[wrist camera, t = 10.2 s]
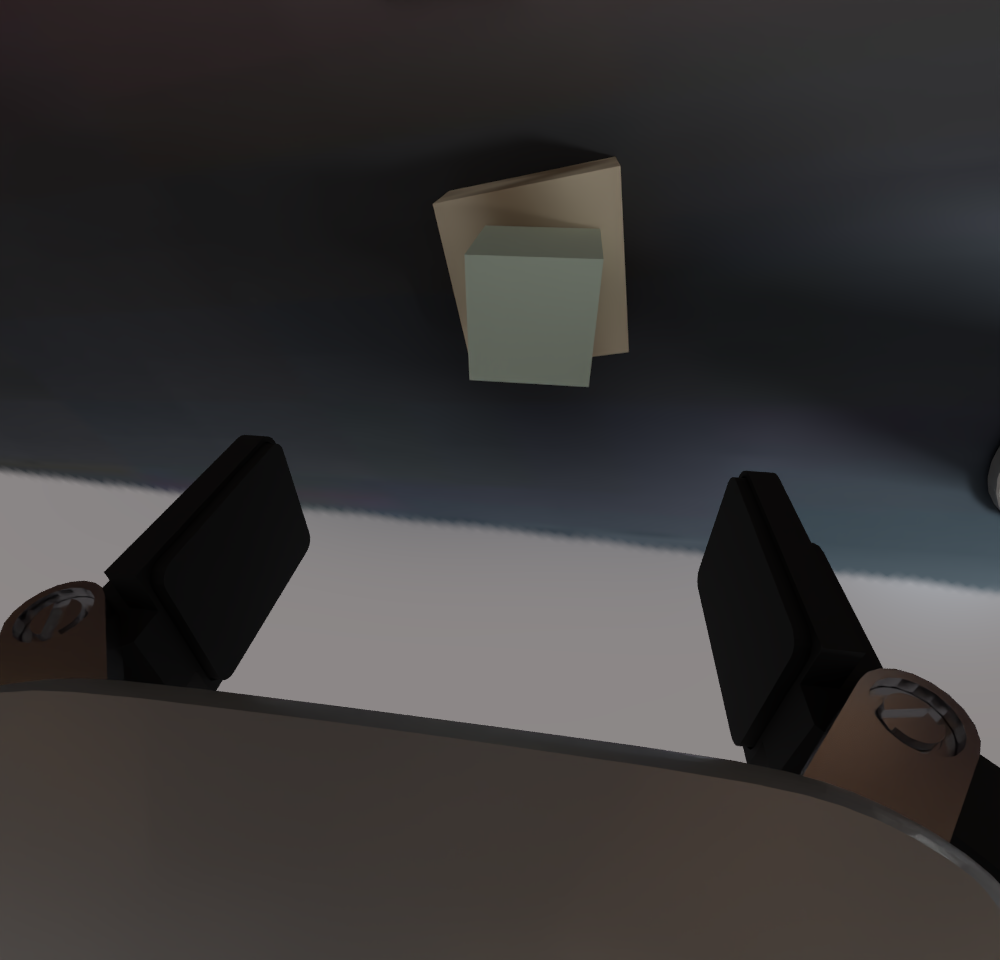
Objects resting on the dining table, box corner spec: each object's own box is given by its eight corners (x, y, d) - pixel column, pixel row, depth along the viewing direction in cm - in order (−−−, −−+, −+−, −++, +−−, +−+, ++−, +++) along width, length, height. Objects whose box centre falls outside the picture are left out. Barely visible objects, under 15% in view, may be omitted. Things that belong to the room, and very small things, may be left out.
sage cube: (600, 228, 22) (603, 259, 18) (587, 340, 25) (588, 387, 21) (485, 225, 22) (464, 254, 19) (487, 335, 26) (469, 379, 22)
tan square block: (614, 155, 24) (620, 165, 21) (623, 322, 28) (628, 352, 25) (450, 189, 25) (432, 203, 22) (483, 342, 30) (472, 371, 27)
